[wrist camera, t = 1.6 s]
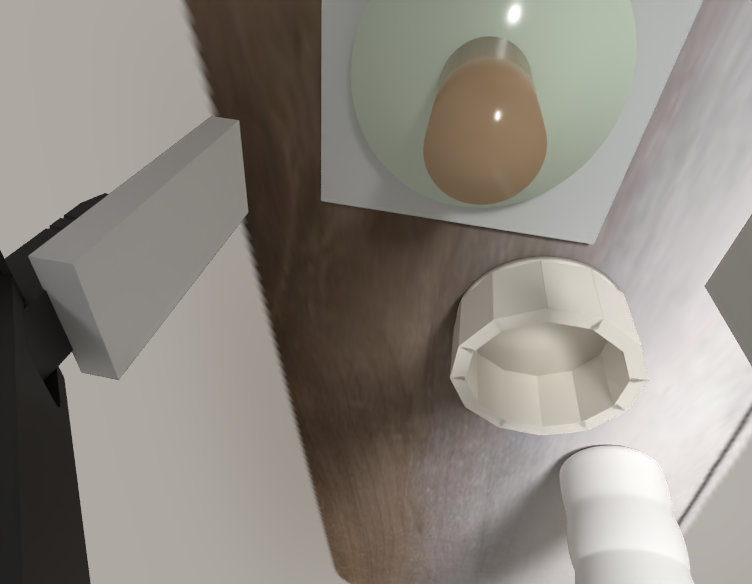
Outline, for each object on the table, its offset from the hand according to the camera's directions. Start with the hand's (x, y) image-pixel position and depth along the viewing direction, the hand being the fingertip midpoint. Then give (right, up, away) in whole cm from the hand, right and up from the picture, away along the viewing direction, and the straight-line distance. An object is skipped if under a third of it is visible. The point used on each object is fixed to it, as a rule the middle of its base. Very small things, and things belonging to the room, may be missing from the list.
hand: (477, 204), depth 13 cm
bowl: (+7, -4, +16) cm, 17 cm away
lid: (+2, +7, +7) cm, 10 cm away
